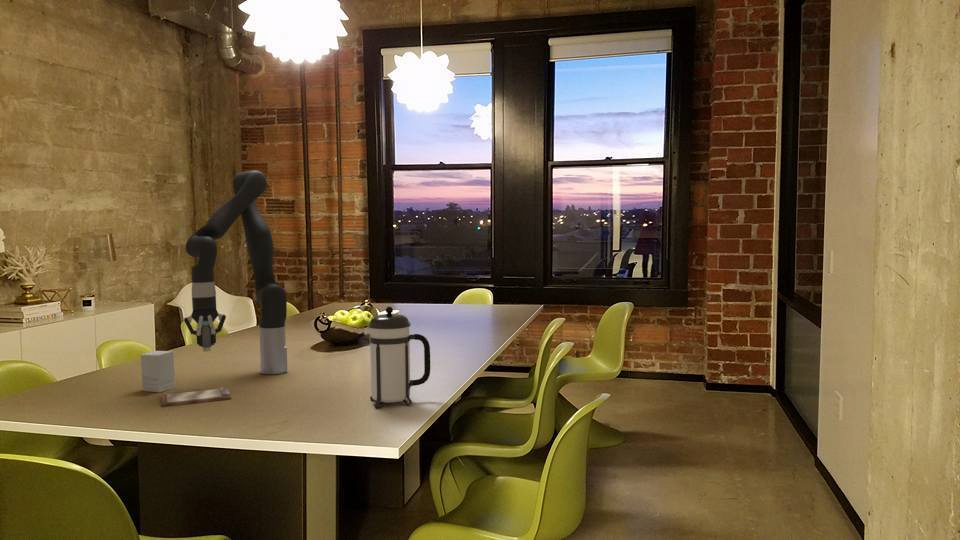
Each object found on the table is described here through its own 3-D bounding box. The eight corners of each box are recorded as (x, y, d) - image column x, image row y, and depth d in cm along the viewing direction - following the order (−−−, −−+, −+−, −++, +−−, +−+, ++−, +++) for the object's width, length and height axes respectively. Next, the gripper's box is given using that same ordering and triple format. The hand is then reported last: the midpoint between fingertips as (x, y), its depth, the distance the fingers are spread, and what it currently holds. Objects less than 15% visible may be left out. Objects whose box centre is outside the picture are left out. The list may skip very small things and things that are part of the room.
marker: (212, 349, 234) (210, 319, 233) (212, 351, 231) (211, 320, 230) (200, 350, 232) (199, 320, 231) (201, 352, 229) (199, 321, 228)
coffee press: (397, 412, 199) (395, 311, 197) (356, 405, 207) (354, 307, 205) (432, 399, 214) (430, 304, 212) (392, 392, 222) (390, 301, 220)
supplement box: (175, 387, 232) (174, 351, 231) (159, 392, 225) (157, 355, 224) (158, 386, 234) (157, 350, 233) (141, 391, 227) (140, 354, 226)
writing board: (227, 390, 228) (227, 385, 227) (231, 399, 216) (231, 394, 216) (162, 397, 219) (161, 392, 219) (161, 406, 207) (161, 402, 207)
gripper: (225, 292, 236) (227, 341, 238) (180, 295, 230) (183, 345, 232) (227, 294, 230) (229, 345, 231) (181, 297, 223) (184, 349, 225)
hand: (206, 345), depth 231 cm, fingers closed on marker, 3 cm apart
